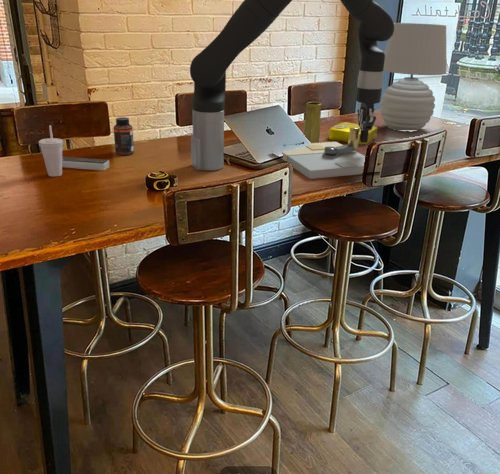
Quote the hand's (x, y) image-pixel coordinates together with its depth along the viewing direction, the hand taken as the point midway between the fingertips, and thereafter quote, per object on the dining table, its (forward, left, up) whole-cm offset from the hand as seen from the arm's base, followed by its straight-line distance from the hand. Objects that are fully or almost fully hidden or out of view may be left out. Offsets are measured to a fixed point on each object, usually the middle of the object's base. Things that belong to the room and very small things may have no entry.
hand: (363, 141), depth 166 cm
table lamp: (+43, +37, -7) cm, 57 cm away
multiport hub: (-85, +18, -7) cm, 87 cm away
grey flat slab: (-12, +3, -7) cm, 14 cm away
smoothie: (-93, +12, -7) cm, 94 cm away
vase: (-5, +26, -7) cm, 27 cm away
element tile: (+14, +29, -7) cm, 33 cm away
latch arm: (-6, +2, -3) cm, 7 cm away
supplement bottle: (-71, +29, -7) cm, 77 cm away
